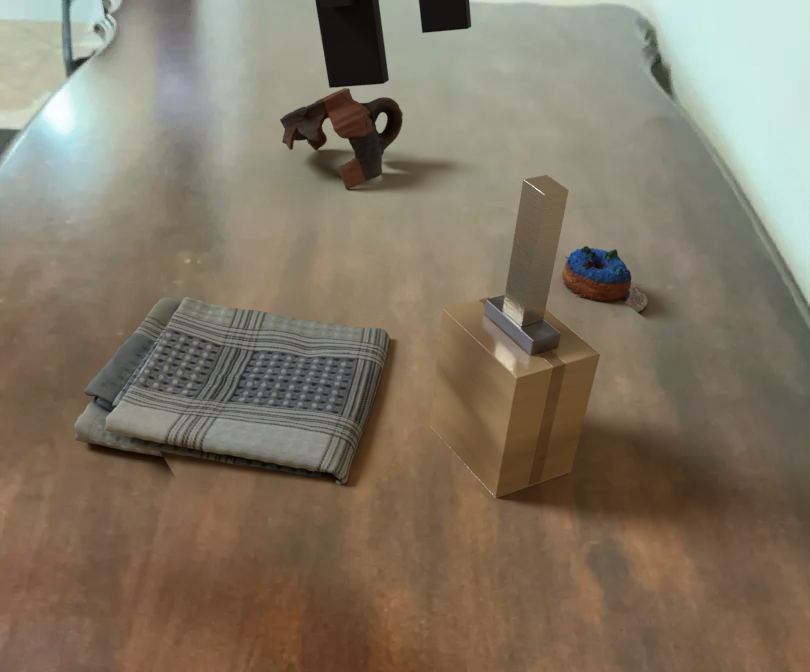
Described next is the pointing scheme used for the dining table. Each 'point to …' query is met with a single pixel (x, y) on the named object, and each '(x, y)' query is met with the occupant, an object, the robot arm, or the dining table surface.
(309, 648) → the dining table surface
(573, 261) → the dessert
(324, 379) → the dish towel
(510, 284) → the knife
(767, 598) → the dining table surface
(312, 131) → the brown wooden irregular piece
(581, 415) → the knife block
